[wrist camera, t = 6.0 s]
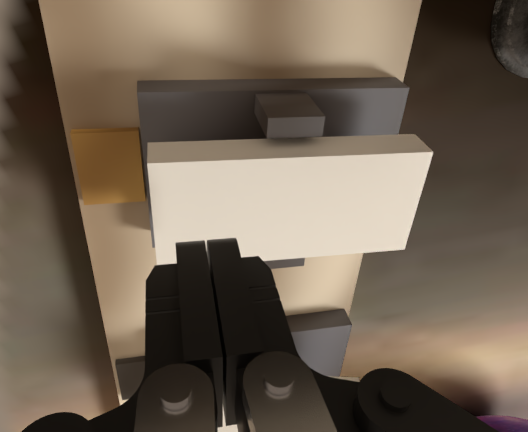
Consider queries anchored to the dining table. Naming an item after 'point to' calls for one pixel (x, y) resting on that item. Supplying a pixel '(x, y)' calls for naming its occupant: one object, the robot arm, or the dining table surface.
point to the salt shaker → (511, 35)
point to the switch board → (216, 128)
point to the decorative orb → (505, 423)
